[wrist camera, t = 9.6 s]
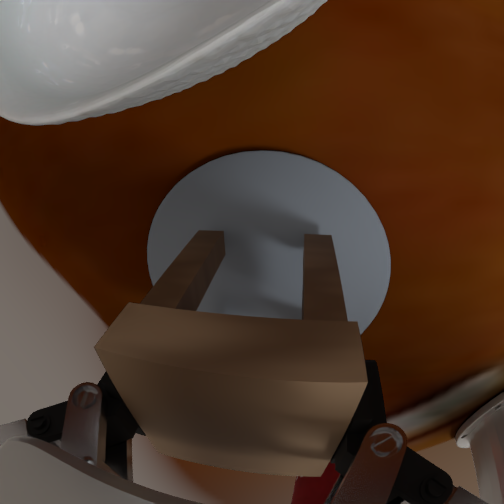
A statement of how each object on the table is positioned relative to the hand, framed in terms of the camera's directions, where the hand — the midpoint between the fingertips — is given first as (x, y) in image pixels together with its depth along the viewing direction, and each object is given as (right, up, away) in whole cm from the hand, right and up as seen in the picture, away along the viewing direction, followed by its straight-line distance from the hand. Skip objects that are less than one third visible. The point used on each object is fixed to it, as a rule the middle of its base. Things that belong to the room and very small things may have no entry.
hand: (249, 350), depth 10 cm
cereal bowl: (-3, +18, -2) cm, 18 cm away
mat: (+1, +2, +5) cm, 5 cm away
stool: (+1, +2, +4) cm, 4 cm away
